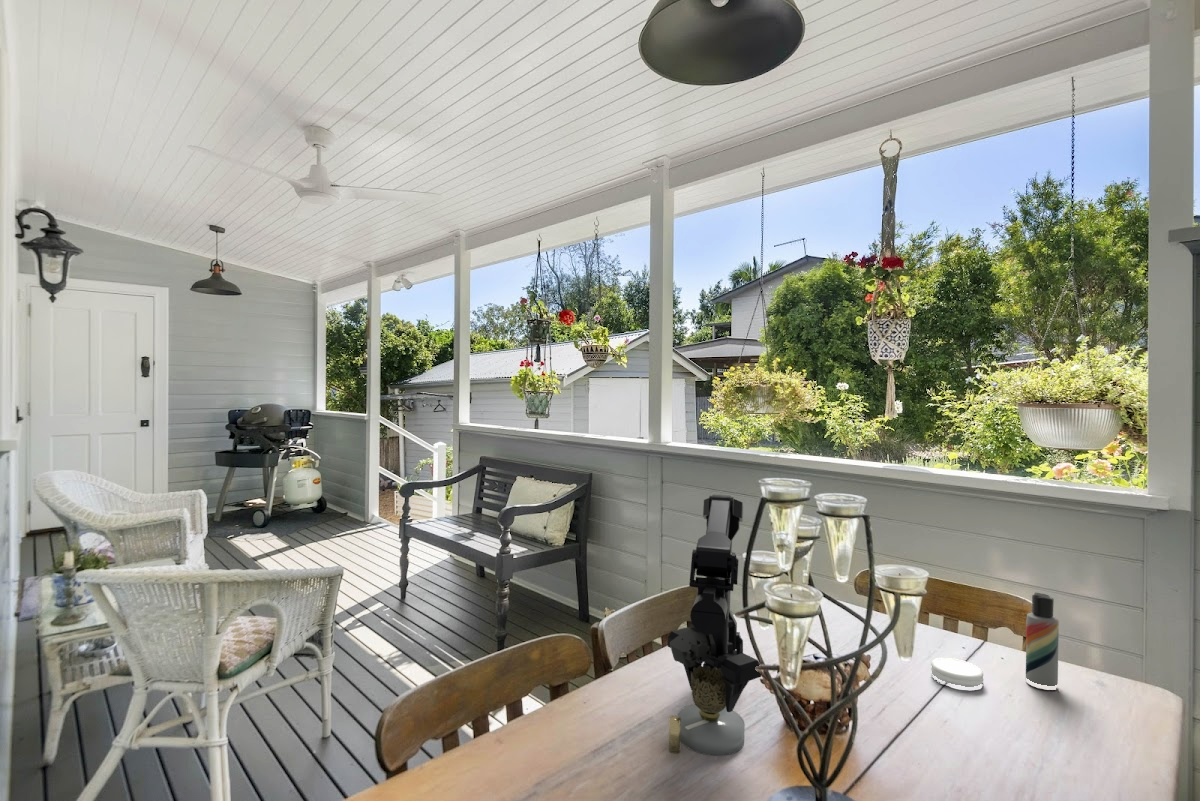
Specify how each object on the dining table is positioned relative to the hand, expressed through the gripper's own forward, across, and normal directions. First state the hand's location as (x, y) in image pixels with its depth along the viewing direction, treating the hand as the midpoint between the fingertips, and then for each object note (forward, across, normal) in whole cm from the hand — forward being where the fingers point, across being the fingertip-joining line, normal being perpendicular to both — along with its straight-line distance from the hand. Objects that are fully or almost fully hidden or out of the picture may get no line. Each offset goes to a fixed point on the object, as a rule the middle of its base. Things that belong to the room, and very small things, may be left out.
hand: (711, 700), depth 109 cm
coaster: (+7, +12, +63) cm, 65 cm away
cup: (+4, 0, 0) cm, 4 cm away
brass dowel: (+6, 0, -8) cm, 11 cm away
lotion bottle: (+7, +23, +77) cm, 81 cm away
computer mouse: (+6, 0, 0) cm, 6 cm away
